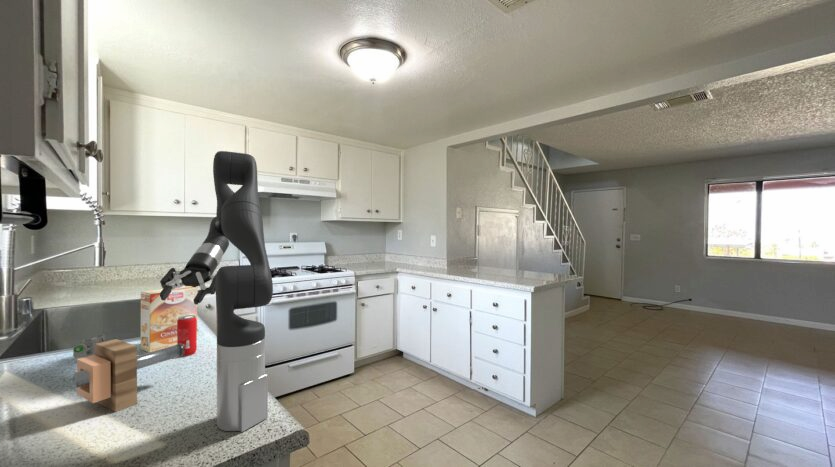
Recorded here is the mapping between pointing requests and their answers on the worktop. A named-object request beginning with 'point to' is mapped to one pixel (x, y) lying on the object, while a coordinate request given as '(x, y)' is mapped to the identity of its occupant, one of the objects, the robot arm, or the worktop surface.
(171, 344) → the coffeecake box
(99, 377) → the orange block with hole
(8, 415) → the worktop surface
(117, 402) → the bearing block
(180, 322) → the beverage can
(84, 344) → the mechanical component
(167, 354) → the shaft
